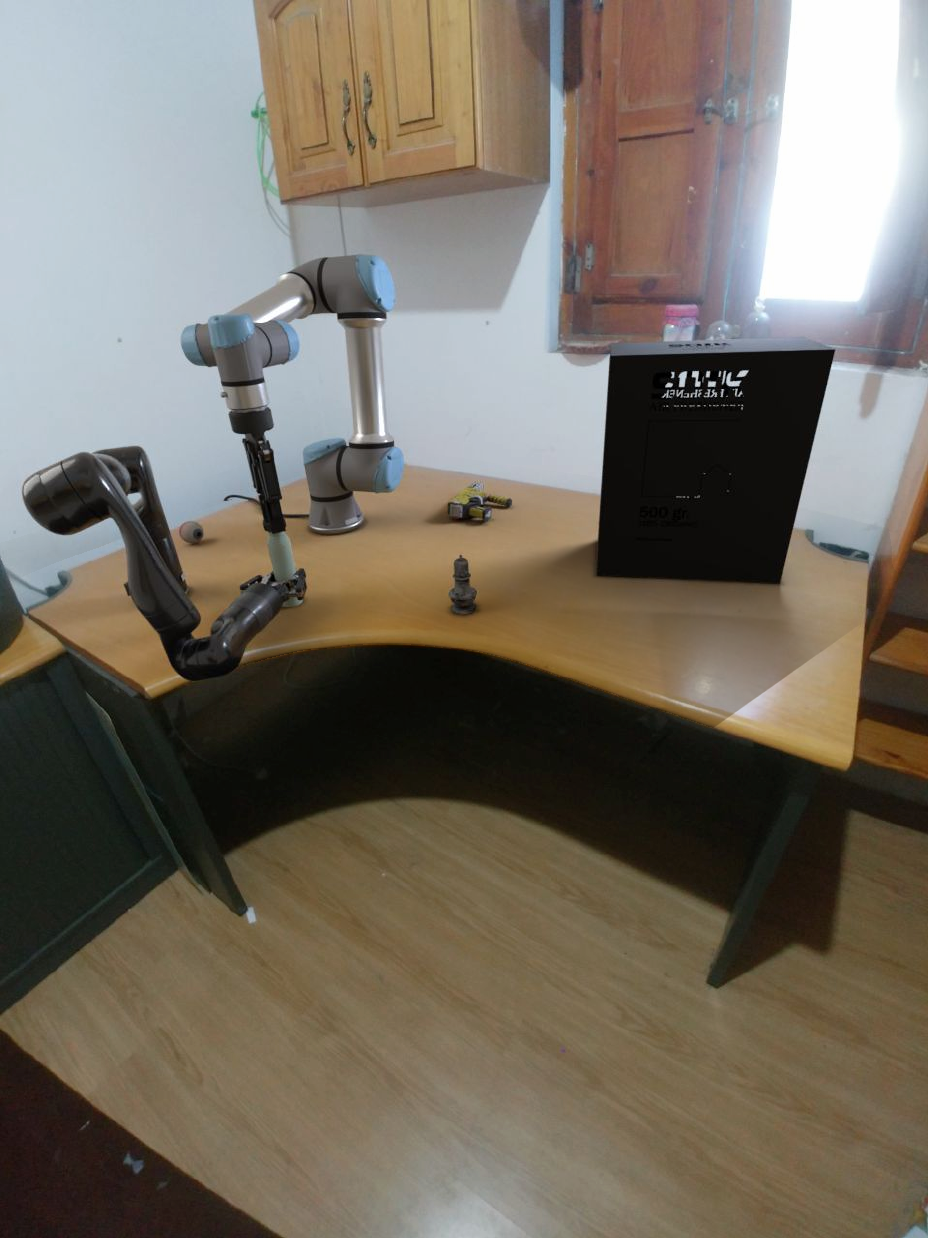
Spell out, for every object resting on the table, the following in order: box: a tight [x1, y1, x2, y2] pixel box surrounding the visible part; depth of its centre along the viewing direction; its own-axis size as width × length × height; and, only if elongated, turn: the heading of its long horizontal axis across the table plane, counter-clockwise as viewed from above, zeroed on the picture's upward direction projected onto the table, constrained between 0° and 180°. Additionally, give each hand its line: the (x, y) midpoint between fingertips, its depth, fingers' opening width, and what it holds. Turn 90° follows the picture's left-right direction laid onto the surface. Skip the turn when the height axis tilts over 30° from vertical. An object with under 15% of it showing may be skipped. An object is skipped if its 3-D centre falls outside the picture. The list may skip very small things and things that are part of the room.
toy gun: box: [446, 480, 513, 523], centre depth 174 cm, size 5×24×15 cm
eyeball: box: [178, 520, 205, 545], centre depth 161 cm, size 6×6×6 cm
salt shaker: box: [448, 554, 478, 615], centre depth 121 cm, size 6×6×12 cm
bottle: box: [266, 531, 304, 608], centre depth 126 cm, size 5×5×18 cm
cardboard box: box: [595, 336, 836, 584], centre depth 127 cm, size 38×20×45 cm, turn 78°
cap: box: [262, 517, 287, 533], centre depth 121 cm, size 4×4×2 cm
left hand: (291, 571), depth 130 cm, fingers closed on bottle, 4 cm apart
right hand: (275, 528), depth 122 cm, fingers closed on cap, 4 cm apart
